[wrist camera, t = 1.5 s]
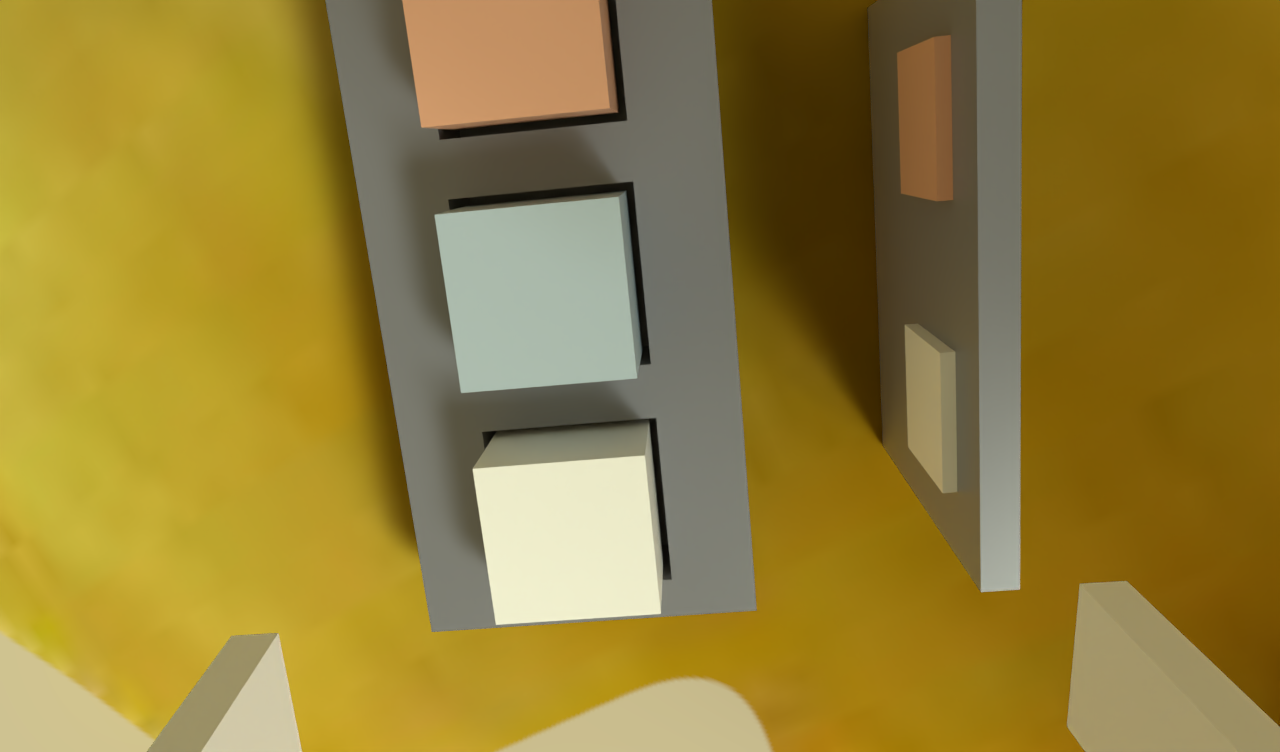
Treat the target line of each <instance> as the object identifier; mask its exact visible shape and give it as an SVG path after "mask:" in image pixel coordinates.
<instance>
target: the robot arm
mask: <svg viewBox="0 0 1280 752" xmlns="http://www.w3.org/2000/svg"><path fill="white" fill-rule="evenodd" d="M1067 727H1068V728H1069V730H1070V731H1071V733H1072V734H1073V735H1074V737H1075V738H1076V740H1077V741H1078V743H1079V744H1080V745H1081V747H1082V748H1083V750H1084V751H1085V752H1280V727H1279V726H1278V725H1277V724H1276V723H1275V722H1274V721H1273V720H1272V719H1271V718H1270V717H1269V716H1268V715H1267V714H1266V713H1265V712H1264V711H1263V710H1262V709H1260V708H1259V707H1258V706H1257V705H1256V704H1255V703H1254V702H1253V701H1252V700H1251V699H1250V698H1249V697H1248V696H1247V695H1246V694H1245V693H1244V692H1243V691H1242V690H1241V689H1240V688H1238V687H1237V686H1236V685H1235V684H1234V683H1233V682H1232V681H1231V680H1230V679H1229V678H1228V677H1227V676H1226V675H1225V674H1224V673H1223V672H1222V671H1221V670H1220V669H1219V668H1217V667H1216V666H1215V665H1214V664H1213V663H1212V662H1211V661H1210V660H1209V659H1208V658H1207V657H1206V656H1205V655H1204V654H1203V653H1202V652H1201V651H1200V650H1199V649H1198V648H1197V647H1195V646H1194V645H1193V644H1192V643H1191V642H1190V641H1189V640H1188V639H1187V638H1186V637H1185V636H1184V635H1183V634H1182V633H1181V632H1180V631H1179V630H1178V629H1177V628H1176V627H1174V626H1173V625H1172V624H1171V623H1170V622H1169V621H1168V620H1167V619H1166V618H1165V617H1164V616H1163V615H1162V614H1161V613H1160V612H1159V611H1158V610H1157V609H1156V608H1155V607H1153V606H1152V605H1151V604H1150V603H1149V602H1148V601H1147V600H1146V599H1145V598H1144V597H1143V596H1142V595H1141V594H1140V593H1139V592H1138V591H1137V590H1136V589H1135V588H1134V587H1133V586H1131V585H1130V584H1129V583H1128V582H1127V581H1116V582H1099V583H1083V584H1080V587H1079V598H1078V609H1077V620H1076V631H1075V642H1074V653H1073V664H1072V675H1071V686H1070V697H1069V708H1068V719H1067ZM147 752H302V750H301V744H300V739H299V734H298V729H297V724H296V719H295V714H294V709H293V704H292V699H291V694H290V689H289V684H288V679H287V674H286V669H285V664H284V659H283V654H282V649H281V644H280V639H279V634H278V633H270V634H254V635H238V636H231V637H230V639H229V640H228V641H227V643H226V644H225V646H224V647H223V648H222V650H221V651H220V652H219V654H218V655H217V656H216V658H215V659H214V661H213V662H212V663H211V665H210V666H209V667H208V669H207V670H206V671H205V673H204V674H203V676H202V677H201V678H200V680H199V681H198V682H197V684H196V685H195V687H194V688H193V689H192V691H191V692H190V693H189V695H188V696H187V697H186V699H185V700H184V702H183V703H182V704H181V706H180V707H179V708H178V710H177V711H176V712H175V714H174V715H173V717H172V718H171V719H170V721H169V722H168V723H167V725H166V726H165V727H164V729H163V730H162V732H161V733H160V734H159V736H158V737H157V738H156V740H155V741H154V742H153V744H152V745H151V747H150V748H149V749H148V751H147Z"/></svg>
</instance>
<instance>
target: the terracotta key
mask: <svg viewBox="0 0 1280 752" xmlns="http://www.w3.org/2000/svg"><path fill="white" fill-rule="evenodd" d="M402 2H403V8H404V15H405V22H406V28H407V35H408V42H409V48H410V55H411V62H412V68H413V75H414V82H415V88H416V95H417V102H418V108H419V115H420V122H421V128H434V129H449V130H459V129H468V128H478V127H488V126H497V125H507V124H517V123H526V122H536V121H546V120H556V119H565V118H575V117H585V116H594V115H604V114H614V113H619V107H618V97H617V87H616V77H615V67H614V57H613V47H612V37H611V27H610V17H609V6H608V0H402Z"/></svg>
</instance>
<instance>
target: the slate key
mask: <svg viewBox="0 0 1280 752" xmlns="http://www.w3.org/2000/svg"><path fill="white" fill-rule="evenodd" d="M435 222H436V229H437V235H438V242H439V249H440V255H441V262H442V269H443V275H444V282H445V289H446V295H447V302H448V309H449V315H450V322H451V329H452V335H453V342H454V349H455V355H456V362H457V369H458V375H459V382H460V389H461V393H469V392H481V391H493V390H505V389H517V388H529V387H540V386H552V385H564V384H576V383H588V382H600V381H612V380H624V379H636V378H637V376H638V371H639V366H640V361H641V355H642V340H641V330H640V320H639V309H638V299H637V289H636V279H635V269H634V259H633V249H632V239H631V229H630V219H629V208H628V198H627V190H624V191H614V192H604V193H593V194H583V195H573V196H563V197H552V198H542V199H532V200H522V201H511V202H501V203H491V204H480V205H470V206H464V207H460V208H456V209H453V210H449V211H446V212H442V213H439V214H435Z"/></svg>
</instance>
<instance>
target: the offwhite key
mask: <svg viewBox="0 0 1280 752" xmlns="http://www.w3.org/2000/svg"><path fill="white" fill-rule="evenodd" d="M473 476H474V482H475V489H476V496H477V502H478V509H479V516H480V522H481V529H482V536H483V542H484V549H485V556H486V562H487V569H488V576H489V582H490V589H491V596H492V602H493V609H494V616H495V622H496V625H502V624H517V623H532V622H547V621H563V620H578V619H593V618H608V617H623V616H638V615H653V614H661V601H662V579H663V552H662V542H661V532H660V522H659V511H658V501H657V491H656V481H655V471H654V461H653V451H652V441H651V431H650V421H649V418H648V419H636V420H623V421H611V422H598V423H586V424H574V425H561V426H549V427H536V428H524V429H512V430H499V431H497V432H496V433H495V435H494V436H493V438H492V439H491V441H490V443H489V444H488V446H487V447H486V449H485V450H484V452H483V453H482V455H481V457H480V458H479V460H478V461H477V463H476V464H475V466H474V467H473Z"/></svg>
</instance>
